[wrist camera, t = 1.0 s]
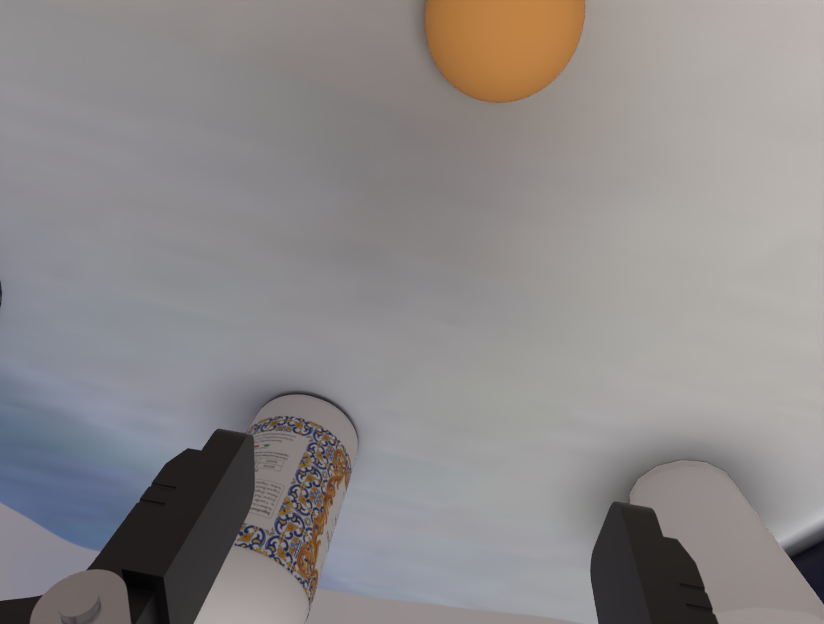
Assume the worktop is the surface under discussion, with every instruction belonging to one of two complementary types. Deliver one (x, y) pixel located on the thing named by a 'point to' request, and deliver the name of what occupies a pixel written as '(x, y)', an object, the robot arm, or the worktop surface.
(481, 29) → the ball
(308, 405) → the bath foam
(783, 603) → the foam cup
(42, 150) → the worktop surface
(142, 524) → the robot arm
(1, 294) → the storage jar
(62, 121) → the worktop surface
